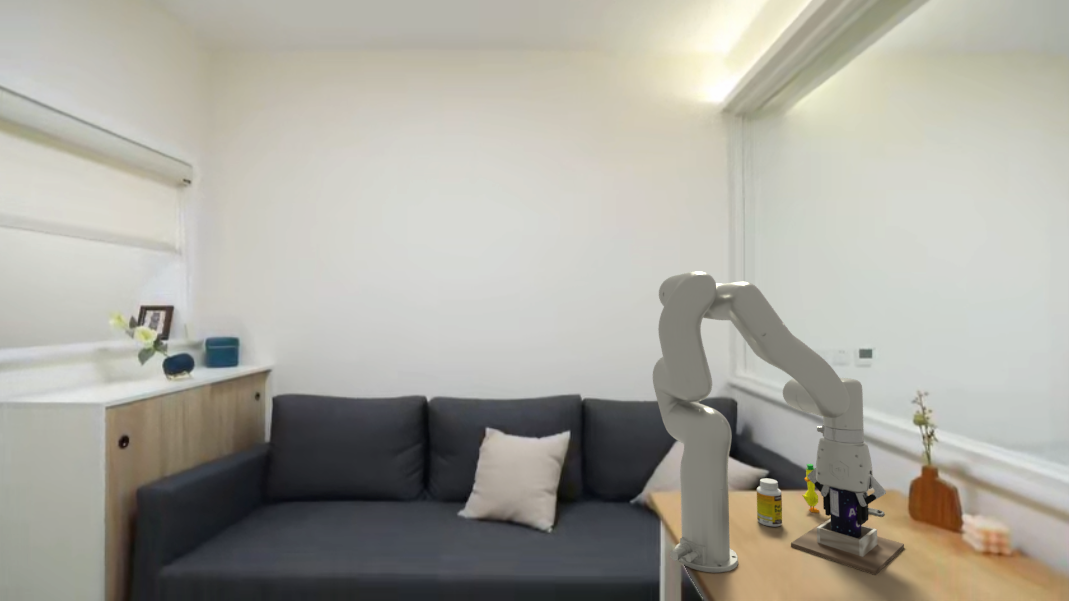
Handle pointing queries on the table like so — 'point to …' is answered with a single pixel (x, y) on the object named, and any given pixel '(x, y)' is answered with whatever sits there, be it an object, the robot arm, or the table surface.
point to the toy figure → (811, 491)
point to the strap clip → (875, 512)
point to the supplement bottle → (769, 503)
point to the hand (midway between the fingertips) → (845, 517)
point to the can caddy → (850, 547)
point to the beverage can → (844, 512)
